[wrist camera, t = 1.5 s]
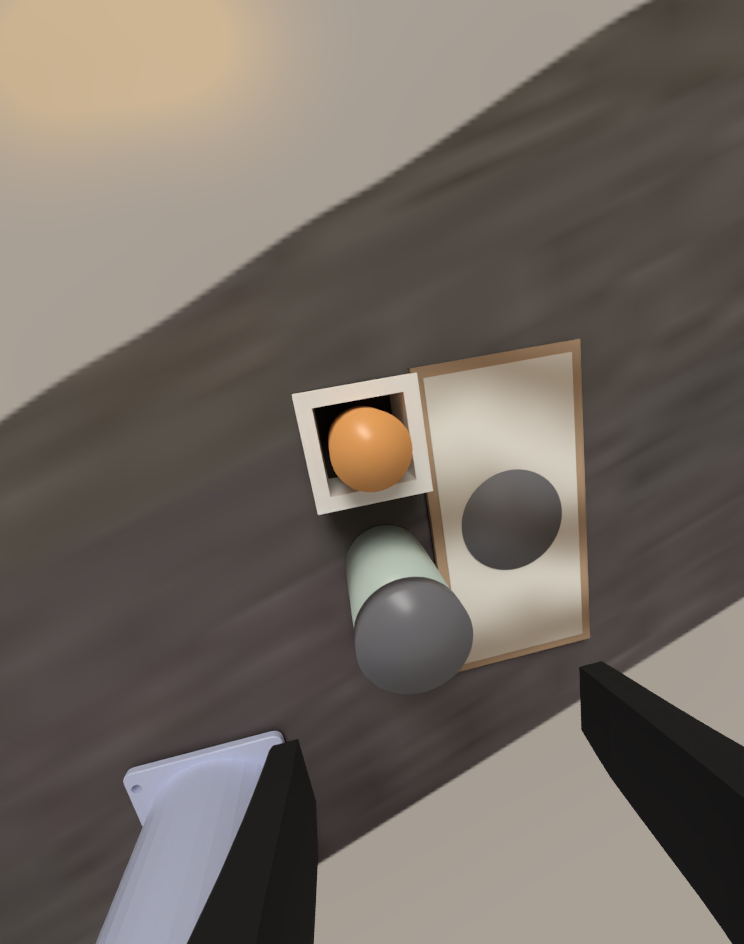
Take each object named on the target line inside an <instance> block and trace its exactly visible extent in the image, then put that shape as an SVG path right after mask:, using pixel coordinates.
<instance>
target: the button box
mask: <svg viewBox="0 0 744 944" xmlns="http://www.w3.org/2000/svg"><path fill="white" fill-rule="evenodd" d="M388 394H389V396H390V403H391V409H392V415H393V416H394V417H396V418H397V419H398V420H400V421H401V422H402V424H403V425H404V426H405V427H406V429H407V431H408V433H409V435H410V438H411V441H412V449H413V450H412V459H411V463H410V466H409V468H408V470H407V472H406V473H405V475H404V476H403V477H402V478H401V479H400V480H399V481H398V482H397V483H396V484H394V485H393V486H391V487H390V488H388V489H385V490H382V491H378V492H362V491H358V490H356V489H353V488H351V487H349V486H348V485H346V484H345V483H344V482H343V481H342V480H341V479H340V478H339V477H335V478H330V479H328V474H327V469H326V464H325V459H324V454H323V450H322V445H321V440H320V435H319V430H318V425H317V421H316V416H315V411H314V408H317V407H322V406H328V405H333V404H339V403H344V402H350V401H355V400H361V399H366V398H372V397H377V396H383V395H388ZM292 399H293V403H294V408H295V412H296V417H297V421H298V426H299V431H300V435H301V440H302V444H303V449H304V453H305V458H306V463H307V467H308V472H309V476H310V481H311V485H312V490H313V494H314V499H315V504H316V508H317V513H318V515H321V514H326V513H331V512H335V511H340V510H345V509H350V508H355V507H359V506H364V505H369V504H374V503H378V502H383V501H388V500H393V499H398V498H402V497H407V496H412V495H417V494H421V493H426V492H431V491H433V486H432V479H431V471H430V464H429V457H428V450H427V442H426V435H425V428H424V420H423V413H422V406H421V398H420V391H419V384H418V376H417V372H416V373H410V374H404V375H398V376H393V377H387V378H381V379H376V380H370V381H364V382H359V383H353V384H347V385H342V386H336V387H330V388H325V389H319V390H313V391H308V392H302V393H296V394H292Z"/></svg>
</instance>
